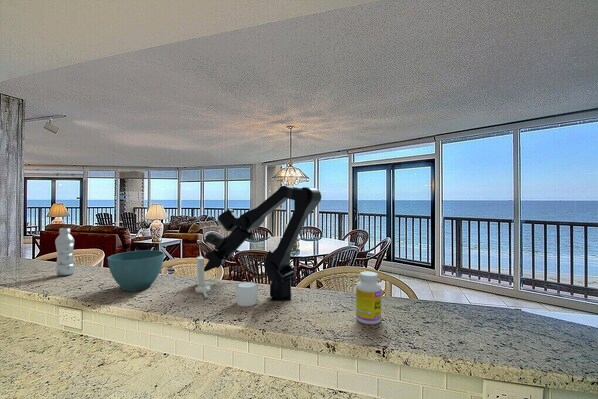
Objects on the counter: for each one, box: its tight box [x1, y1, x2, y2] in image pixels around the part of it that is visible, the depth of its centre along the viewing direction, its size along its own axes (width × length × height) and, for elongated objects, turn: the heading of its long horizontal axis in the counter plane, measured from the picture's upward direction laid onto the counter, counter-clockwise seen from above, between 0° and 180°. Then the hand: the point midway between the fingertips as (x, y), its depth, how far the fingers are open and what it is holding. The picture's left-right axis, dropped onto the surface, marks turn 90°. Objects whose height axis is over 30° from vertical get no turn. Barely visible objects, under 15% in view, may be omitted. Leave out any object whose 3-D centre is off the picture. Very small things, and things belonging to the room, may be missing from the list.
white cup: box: [235, 281, 259, 309], centre depth 90 cm, size 7×7×7 cm
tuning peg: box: [194, 255, 212, 298], centre depth 102 cm, size 5×17×10 cm, turn 25°
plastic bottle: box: [54, 227, 76, 277], centre depth 126 cm, size 6×7×20 cm
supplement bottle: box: [355, 271, 382, 325], centre depth 81 cm, size 7×7×13 cm
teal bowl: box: [107, 249, 165, 292], centre depth 109 cm, size 18×18×12 cm
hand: (204, 270), depth 108 cm, fingers closed
